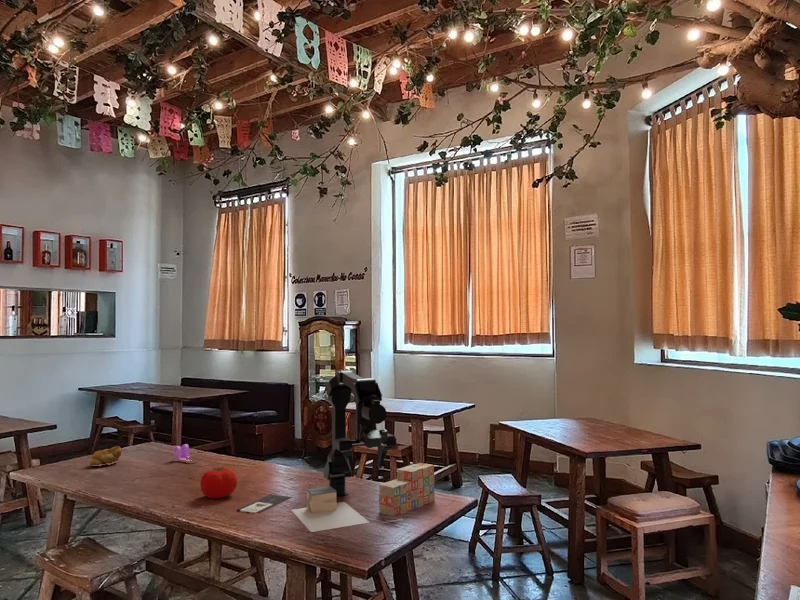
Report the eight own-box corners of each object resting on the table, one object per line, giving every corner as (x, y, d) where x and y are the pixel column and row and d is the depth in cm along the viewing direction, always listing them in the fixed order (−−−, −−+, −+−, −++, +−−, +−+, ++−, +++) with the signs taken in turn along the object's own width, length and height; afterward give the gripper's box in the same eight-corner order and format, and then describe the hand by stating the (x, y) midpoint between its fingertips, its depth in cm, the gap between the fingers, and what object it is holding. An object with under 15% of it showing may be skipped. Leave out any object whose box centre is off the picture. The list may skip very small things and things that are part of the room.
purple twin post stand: (173, 461, 261) (173, 445, 261) (183, 458, 265) (184, 443, 266) (191, 464, 254) (191, 448, 254) (202, 462, 258) (202, 446, 259)
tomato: (205, 492, 208) (205, 464, 209) (240, 492, 208) (240, 463, 209) (194, 502, 197) (194, 471, 197) (231, 501, 197) (231, 470, 198)
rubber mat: (291, 511, 185) (291, 509, 185) (344, 503, 193) (344, 501, 193) (311, 533, 164) (311, 532, 164) (369, 523, 172) (369, 522, 172)
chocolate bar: (292, 497, 199) (259, 512, 183) (292, 499, 199) (259, 515, 183) (270, 494, 203) (236, 509, 186) (270, 497, 203) (236, 512, 186)
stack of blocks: (394, 518, 177) (393, 477, 178) (378, 514, 181) (378, 474, 181) (435, 501, 193) (434, 464, 194) (420, 498, 197) (419, 461, 198)
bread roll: (95, 469, 247) (95, 450, 247) (83, 466, 252) (83, 448, 253) (123, 463, 258) (123, 445, 258) (112, 461, 263) (112, 443, 263)
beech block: (307, 508, 186) (307, 489, 187) (330, 504, 190) (330, 486, 190) (312, 513, 181) (312, 494, 181) (336, 509, 184) (336, 490, 185)
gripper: (345, 425, 167) (345, 480, 166) (403, 420, 175) (404, 472, 174) (333, 420, 177) (333, 471, 176) (389, 415, 185) (389, 464, 184)
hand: (366, 470), depth 177 cm, fingers open, 9 cm apart
